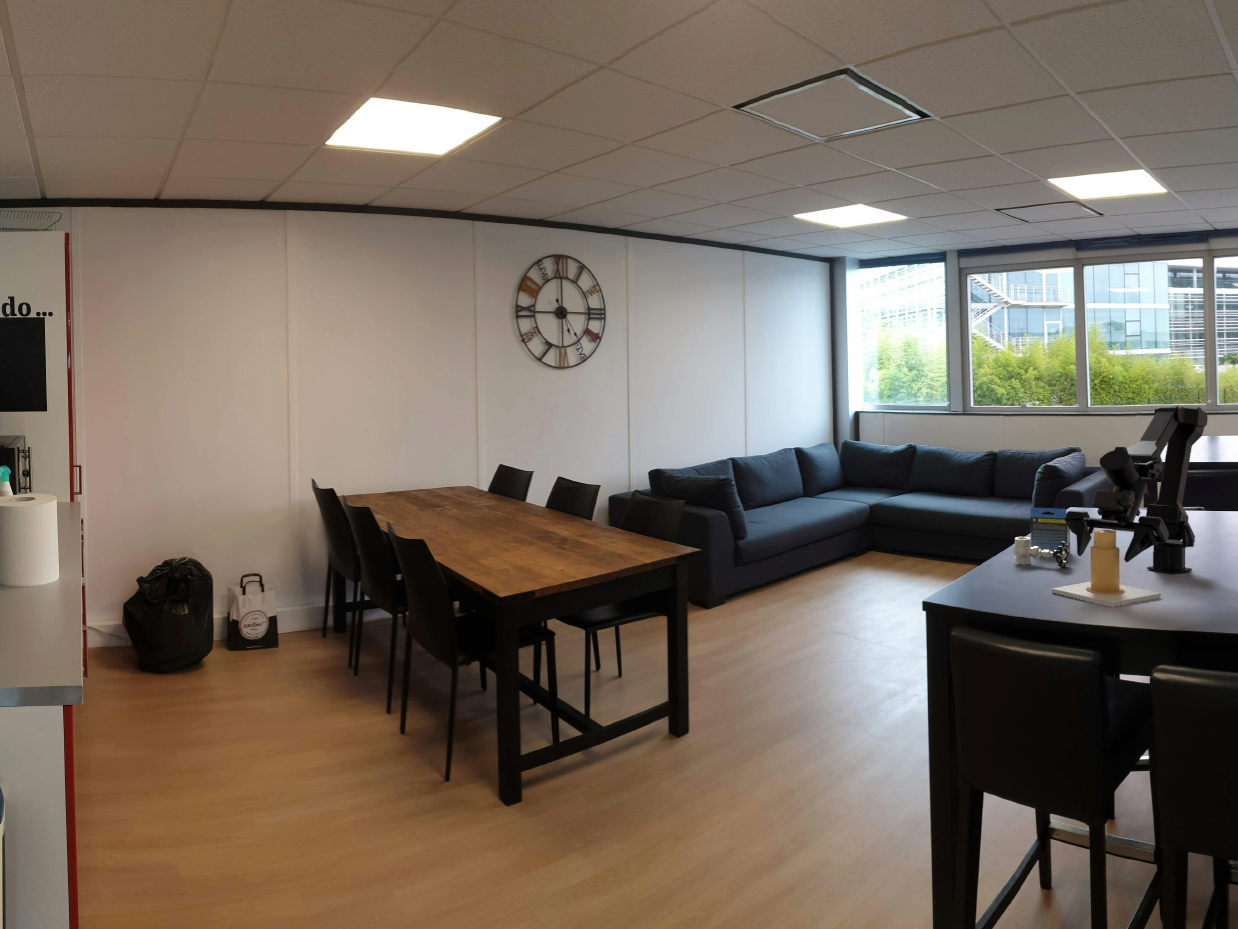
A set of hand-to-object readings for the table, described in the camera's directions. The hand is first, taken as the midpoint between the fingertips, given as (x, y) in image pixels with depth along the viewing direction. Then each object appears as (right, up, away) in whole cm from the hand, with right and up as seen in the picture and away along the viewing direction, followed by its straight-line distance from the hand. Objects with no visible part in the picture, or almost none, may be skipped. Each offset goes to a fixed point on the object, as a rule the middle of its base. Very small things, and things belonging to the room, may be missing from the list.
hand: (1101, 558), depth 168 cm
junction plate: (+2, -8, +1) cm, 8 cm away
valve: (+4, -6, +32) cm, 33 cm away
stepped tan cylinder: (+2, -7, +1) cm, 7 cm away
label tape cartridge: (+14, -4, +45) cm, 48 cm away
